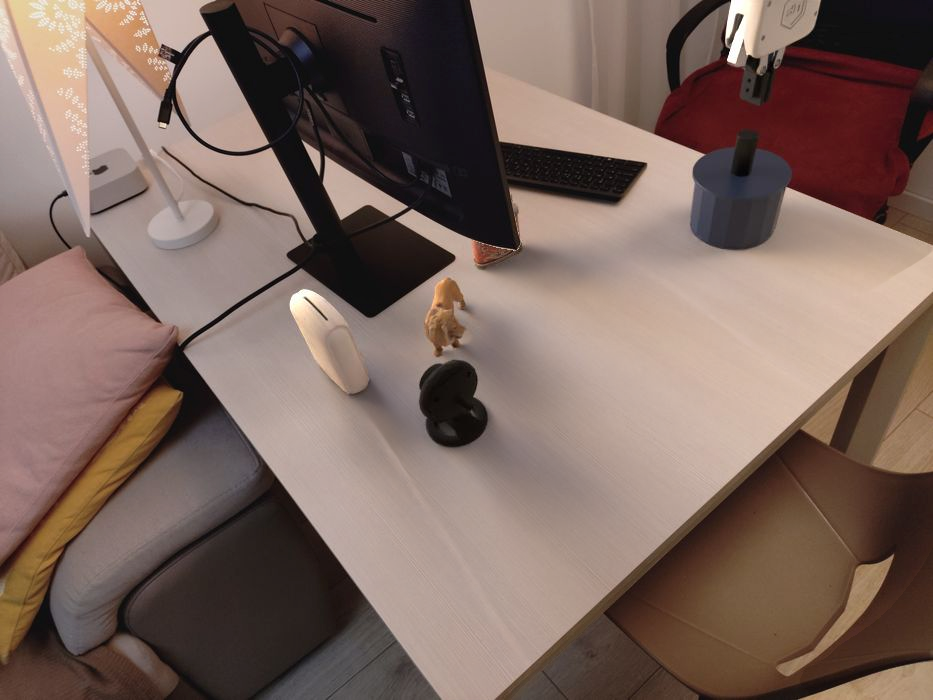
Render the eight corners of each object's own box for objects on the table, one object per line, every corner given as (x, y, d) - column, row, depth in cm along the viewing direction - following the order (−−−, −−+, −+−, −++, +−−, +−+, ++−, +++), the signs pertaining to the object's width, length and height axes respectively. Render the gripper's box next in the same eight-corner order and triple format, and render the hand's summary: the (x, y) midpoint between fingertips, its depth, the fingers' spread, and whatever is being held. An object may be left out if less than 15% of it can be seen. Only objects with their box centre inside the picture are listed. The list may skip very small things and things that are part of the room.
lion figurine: (474, 370, 81) (463, 321, 74) (433, 376, 81) (419, 328, 74) (465, 294, 91) (455, 245, 84) (429, 300, 91) (416, 251, 84)
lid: (811, 178, 84) (824, 133, 80) (742, 217, 81) (752, 172, 76) (737, 144, 92) (745, 101, 88) (672, 178, 89) (676, 135, 84)
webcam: (461, 388, 79) (447, 333, 72) (502, 420, 75) (492, 365, 67) (413, 425, 76) (394, 372, 69) (453, 461, 72) (437, 409, 64)
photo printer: (311, 359, 86) (278, 293, 77) (337, 342, 88) (308, 275, 79) (348, 401, 80) (317, 334, 71) (376, 382, 82) (349, 315, 73)
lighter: (481, 273, 93) (471, 217, 86) (470, 261, 96) (460, 206, 88) (527, 251, 95) (521, 195, 88) (515, 240, 97) (508, 184, 90)
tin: (792, 225, 90) (807, 174, 84) (733, 260, 87) (743, 210, 81) (729, 192, 98) (738, 143, 91) (672, 223, 95) (678, 174, 88)
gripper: (765, -40, 61) (733, 133, 74) (869, -85, 65) (821, 88, 78) (706, -54, 66) (686, 111, 79) (807, -95, 70) (772, 70, 83)
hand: (753, 99), depth 79 cm, fingers closed
